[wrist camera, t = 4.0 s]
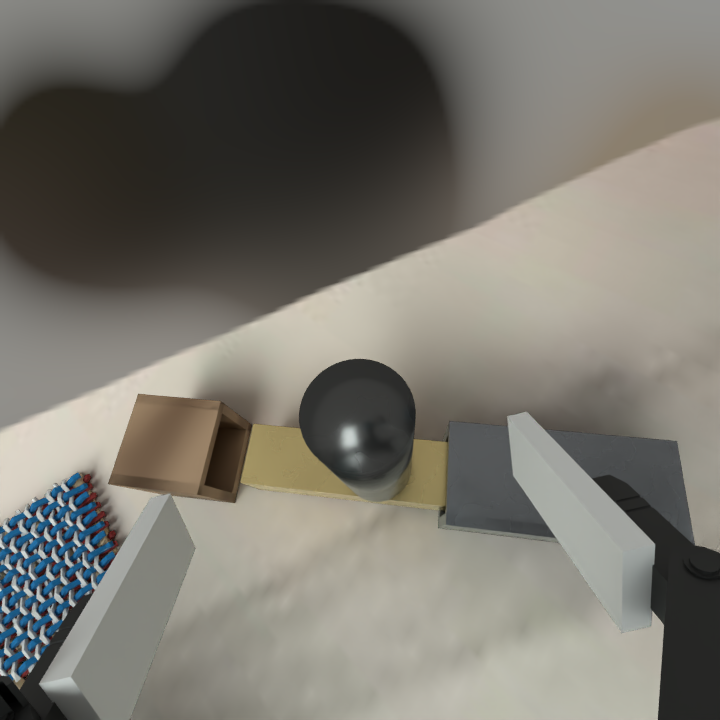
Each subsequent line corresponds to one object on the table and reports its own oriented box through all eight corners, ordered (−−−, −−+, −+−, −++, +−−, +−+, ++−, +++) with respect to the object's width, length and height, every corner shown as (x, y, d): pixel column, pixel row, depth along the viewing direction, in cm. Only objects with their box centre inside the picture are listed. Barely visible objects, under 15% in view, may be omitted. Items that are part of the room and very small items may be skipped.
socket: (251, 424, 31) (220, 401, 26) (234, 503, 29) (196, 494, 24) (182, 418, 32) (138, 393, 27) (160, 494, 30) (108, 484, 25)
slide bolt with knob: (618, 467, 27) (839, 392, 13) (626, 535, 25) (886, 529, 12) (270, 433, 30) (158, 344, 16) (258, 492, 28) (123, 448, 15)
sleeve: (625, 460, 28) (676, 440, 23) (636, 552, 26) (696, 554, 20) (441, 442, 30) (449, 421, 24) (438, 527, 27) (446, 524, 22)
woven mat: (-40, 561, 30) (-69, 563, 28) (93, 468, 32) (74, 463, 30) (2, 709, 26) (-29, 722, 24) (151, 594, 28) (133, 598, 26)
